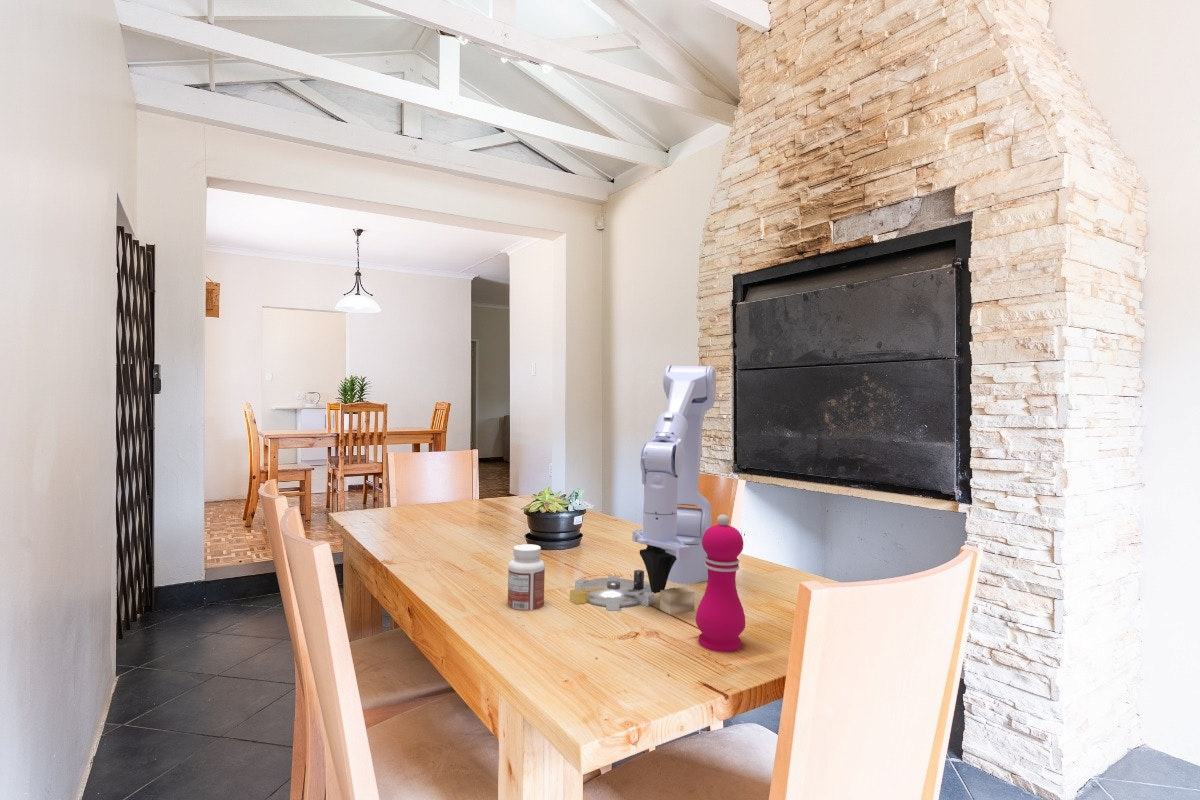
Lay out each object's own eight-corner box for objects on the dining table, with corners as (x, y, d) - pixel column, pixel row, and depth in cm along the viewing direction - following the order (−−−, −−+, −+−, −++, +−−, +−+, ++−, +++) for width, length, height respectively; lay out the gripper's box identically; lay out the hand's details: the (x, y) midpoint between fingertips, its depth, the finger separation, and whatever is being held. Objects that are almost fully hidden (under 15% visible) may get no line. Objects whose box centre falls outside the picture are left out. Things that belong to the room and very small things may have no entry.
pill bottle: (536, 604, 112) (538, 541, 112) (549, 615, 106) (551, 549, 106) (502, 608, 109) (504, 544, 109) (513, 620, 103) (515, 552, 104)
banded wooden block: (683, 606, 110) (684, 586, 110) (694, 612, 107) (694, 591, 107) (659, 610, 107) (660, 589, 107) (669, 616, 105) (670, 594, 105)
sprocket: (629, 581, 123) (630, 557, 123) (670, 602, 111) (671, 576, 111) (556, 590, 116) (556, 565, 116) (591, 614, 103) (592, 585, 103)
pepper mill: (734, 664, 88) (738, 520, 88) (686, 652, 92) (690, 514, 92) (751, 648, 94) (755, 514, 94) (706, 637, 98) (709, 508, 98)
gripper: (618, 506, 112) (616, 583, 112) (664, 520, 100) (661, 607, 99) (652, 504, 116) (649, 579, 115) (700, 518, 103) (698, 601, 103)
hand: (657, 591), depth 108 cm, fingers closed
